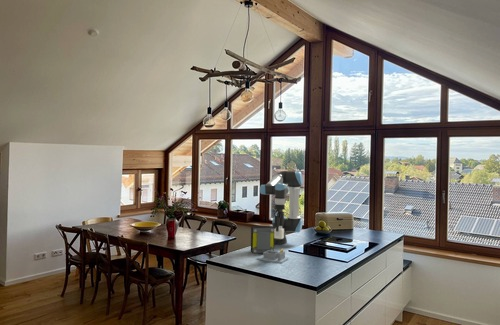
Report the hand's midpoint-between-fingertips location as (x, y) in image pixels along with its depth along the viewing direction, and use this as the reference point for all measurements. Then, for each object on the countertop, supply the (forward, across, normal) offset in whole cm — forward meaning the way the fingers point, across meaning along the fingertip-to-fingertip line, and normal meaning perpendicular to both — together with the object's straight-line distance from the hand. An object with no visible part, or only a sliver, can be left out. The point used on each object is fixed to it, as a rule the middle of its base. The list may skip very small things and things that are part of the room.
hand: (278, 235), depth 276 cm
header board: (+18, +5, -2) cm, 18 cm away
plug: (+2, 0, 0) cm, 2 cm away
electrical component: (+18, -11, -19) cm, 28 cm away
